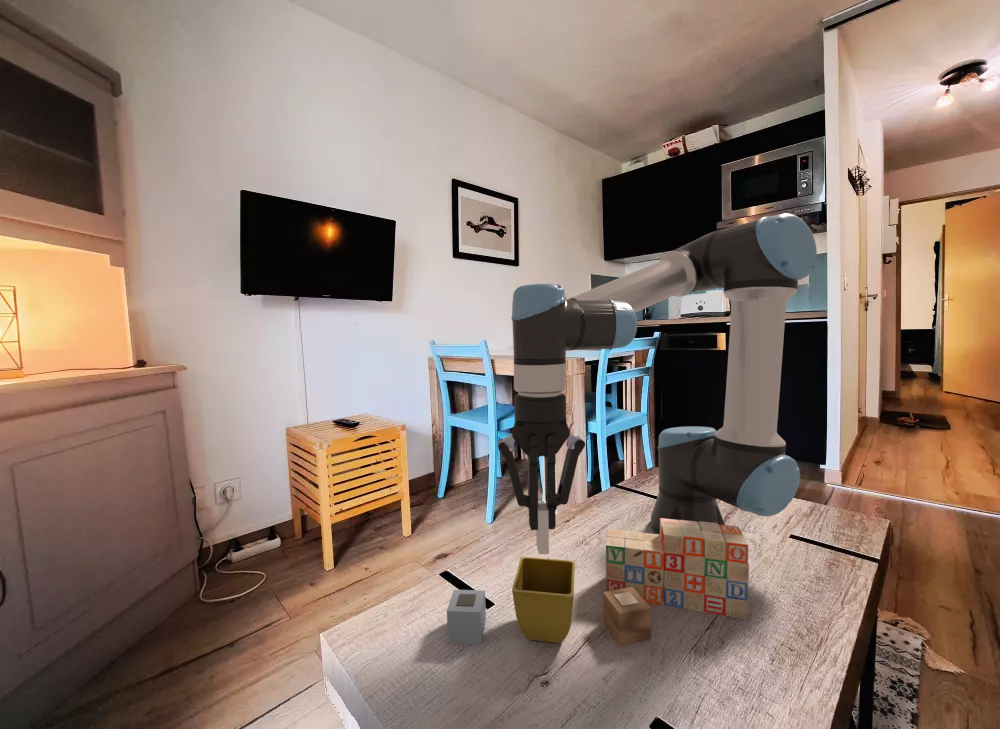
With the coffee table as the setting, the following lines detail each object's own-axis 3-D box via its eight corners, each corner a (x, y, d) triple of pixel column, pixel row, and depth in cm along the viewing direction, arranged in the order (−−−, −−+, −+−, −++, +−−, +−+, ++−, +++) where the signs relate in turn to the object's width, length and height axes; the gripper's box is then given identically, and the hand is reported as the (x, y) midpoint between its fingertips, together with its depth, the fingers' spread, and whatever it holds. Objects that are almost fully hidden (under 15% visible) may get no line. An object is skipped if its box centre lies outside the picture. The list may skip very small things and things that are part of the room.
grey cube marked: (486, 620, 65) (484, 589, 64) (481, 644, 60) (480, 611, 60) (455, 619, 65) (453, 588, 65) (448, 643, 60) (446, 610, 60)
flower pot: (575, 657, 57) (573, 595, 56) (513, 649, 59) (511, 589, 58) (576, 614, 66) (575, 560, 65) (522, 608, 67) (520, 556, 67)
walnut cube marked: (632, 616, 65) (632, 585, 64) (650, 639, 60) (650, 606, 59) (603, 622, 64) (603, 591, 63) (619, 646, 59) (619, 612, 58)
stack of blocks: (605, 597, 70) (604, 527, 69) (607, 576, 76) (606, 511, 75) (748, 620, 63) (749, 543, 62) (738, 595, 69) (739, 524, 68)
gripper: (578, 388, 63) (579, 535, 65) (494, 390, 63) (498, 538, 65) (591, 395, 56) (592, 561, 58) (496, 398, 55) (500, 565, 57)
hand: (542, 549), depth 61 cm, fingers closed
